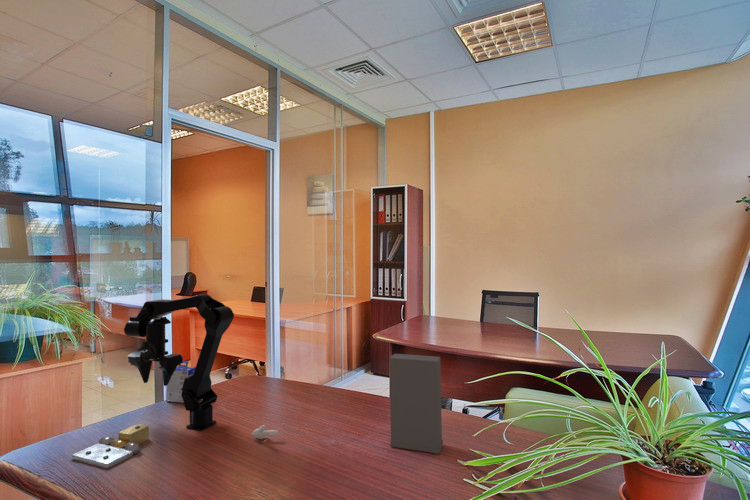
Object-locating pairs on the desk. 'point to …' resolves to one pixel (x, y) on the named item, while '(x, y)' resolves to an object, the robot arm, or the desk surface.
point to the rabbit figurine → (263, 432)
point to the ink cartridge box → (178, 382)
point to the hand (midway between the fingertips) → (155, 384)
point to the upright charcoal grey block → (416, 402)
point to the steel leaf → (106, 453)
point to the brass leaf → (132, 436)
